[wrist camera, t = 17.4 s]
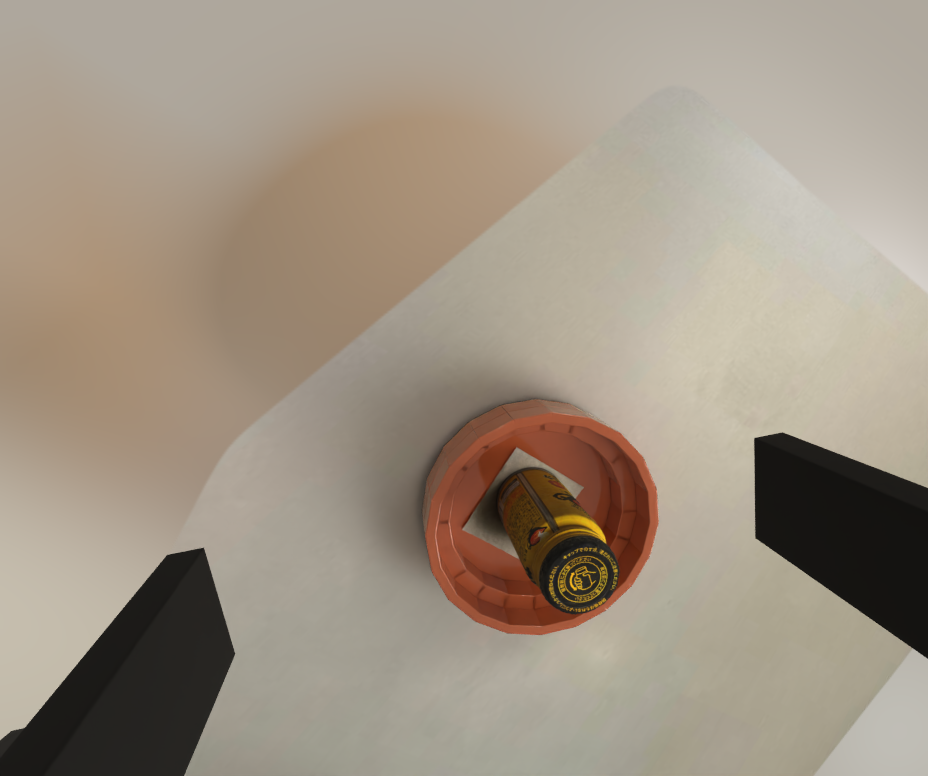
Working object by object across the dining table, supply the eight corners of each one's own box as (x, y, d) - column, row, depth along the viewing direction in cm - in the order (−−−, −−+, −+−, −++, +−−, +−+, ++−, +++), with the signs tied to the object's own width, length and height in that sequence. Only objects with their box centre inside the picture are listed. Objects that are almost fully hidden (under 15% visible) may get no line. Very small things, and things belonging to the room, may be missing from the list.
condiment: (583, 486, 43) (654, 561, 31) (529, 564, 44) (579, 665, 32) (515, 446, 41) (564, 509, 30) (461, 527, 42) (488, 620, 31)
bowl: (405, 420, 40) (407, 439, 35) (621, 381, 42) (651, 394, 37) (440, 616, 44) (447, 657, 40) (635, 572, 46) (664, 606, 42)
